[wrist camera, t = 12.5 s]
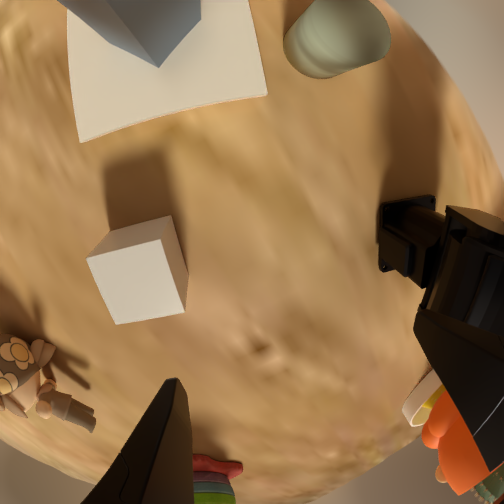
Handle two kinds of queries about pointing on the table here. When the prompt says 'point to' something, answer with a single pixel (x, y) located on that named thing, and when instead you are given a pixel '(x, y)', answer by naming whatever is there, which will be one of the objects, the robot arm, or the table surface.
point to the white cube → (141, 271)
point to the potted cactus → (451, 440)
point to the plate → (163, 71)
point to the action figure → (35, 383)
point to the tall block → (140, 24)
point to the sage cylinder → (336, 38)
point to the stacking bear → (214, 480)
